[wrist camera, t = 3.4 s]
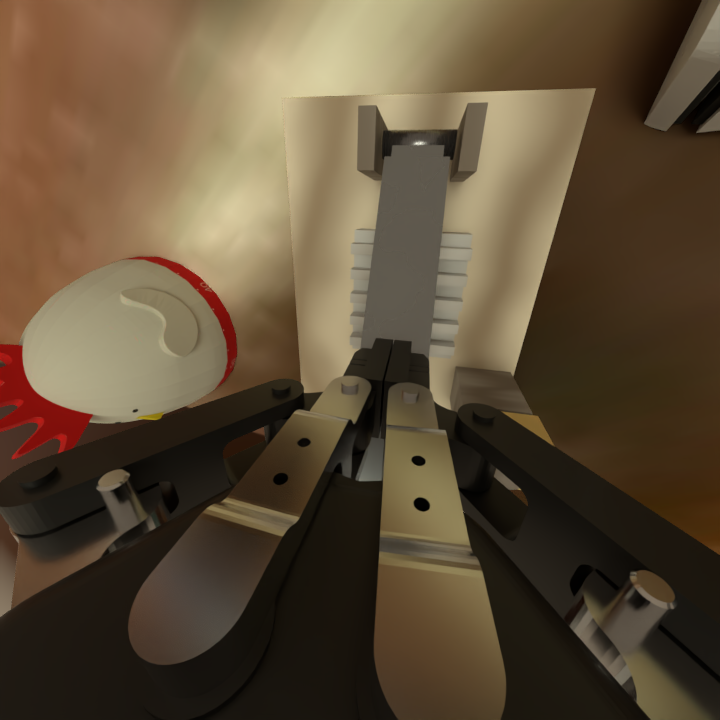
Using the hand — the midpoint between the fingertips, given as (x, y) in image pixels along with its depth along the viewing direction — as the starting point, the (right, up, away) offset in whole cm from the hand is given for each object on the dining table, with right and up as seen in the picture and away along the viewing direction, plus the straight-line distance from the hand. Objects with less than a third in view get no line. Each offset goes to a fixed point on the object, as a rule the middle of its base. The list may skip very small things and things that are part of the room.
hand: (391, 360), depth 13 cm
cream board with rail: (+2, +6, +11) cm, 12 cm away
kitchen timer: (-20, +3, +17) cm, 26 cm away
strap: (+1, +3, +2) cm, 3 cm away
